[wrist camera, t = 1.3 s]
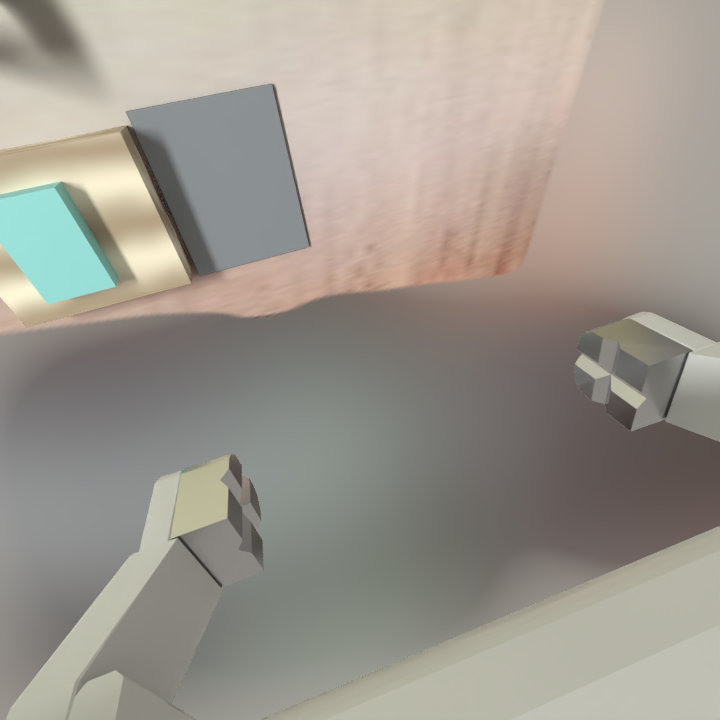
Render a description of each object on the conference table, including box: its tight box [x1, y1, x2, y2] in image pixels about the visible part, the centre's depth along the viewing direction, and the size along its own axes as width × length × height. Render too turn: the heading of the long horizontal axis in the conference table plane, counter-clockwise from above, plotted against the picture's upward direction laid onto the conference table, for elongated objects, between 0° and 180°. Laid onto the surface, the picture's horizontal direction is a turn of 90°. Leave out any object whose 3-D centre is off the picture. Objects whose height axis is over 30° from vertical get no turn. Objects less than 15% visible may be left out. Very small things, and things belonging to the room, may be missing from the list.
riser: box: [0, 126, 192, 327], centre depth 36 cm, size 14×16×4 cm
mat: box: [126, 84, 309, 276], centre depth 40 cm, size 16×13×1 cm
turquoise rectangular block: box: [0, 181, 119, 304], centre depth 34 cm, size 9×6×2 cm, turn 8°
